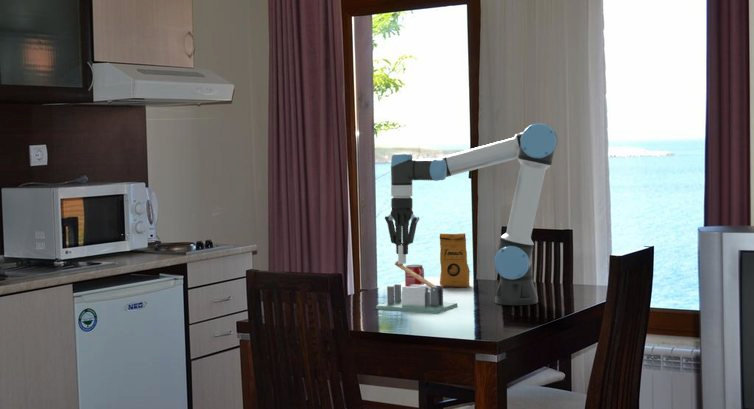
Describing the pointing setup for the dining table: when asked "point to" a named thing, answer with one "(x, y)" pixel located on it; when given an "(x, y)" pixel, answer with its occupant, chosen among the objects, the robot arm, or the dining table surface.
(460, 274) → the coffee package
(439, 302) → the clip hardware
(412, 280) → the soda can
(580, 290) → the dining table surface
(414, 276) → the strap
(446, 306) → the board
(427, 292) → the heat sink
